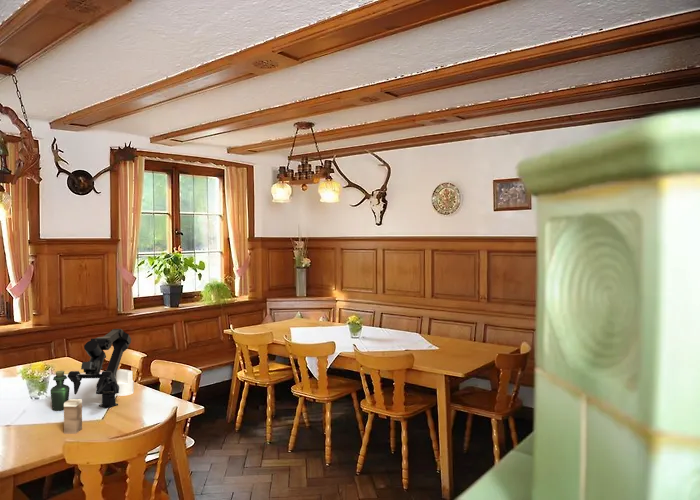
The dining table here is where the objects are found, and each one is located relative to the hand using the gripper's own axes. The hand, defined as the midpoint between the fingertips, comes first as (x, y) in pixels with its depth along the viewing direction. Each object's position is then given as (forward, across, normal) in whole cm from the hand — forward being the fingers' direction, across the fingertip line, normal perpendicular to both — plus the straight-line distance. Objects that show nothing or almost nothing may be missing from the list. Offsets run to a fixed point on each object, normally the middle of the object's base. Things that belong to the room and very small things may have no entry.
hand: (85, 394), depth 226 cm
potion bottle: (-4, -21, +24) cm, 32 cm away
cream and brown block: (+16, -2, +3) cm, 16 cm away
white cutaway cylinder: (-20, 0, +42) cm, 46 cm away
